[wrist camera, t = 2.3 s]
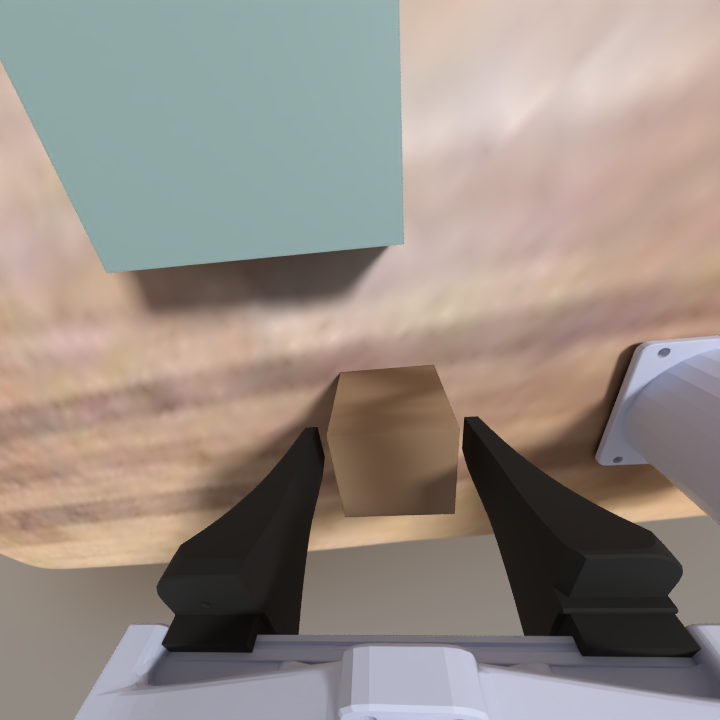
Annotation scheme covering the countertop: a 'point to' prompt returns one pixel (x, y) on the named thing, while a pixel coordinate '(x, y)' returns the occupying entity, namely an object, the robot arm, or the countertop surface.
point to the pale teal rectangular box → (216, 123)
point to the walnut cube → (394, 443)
